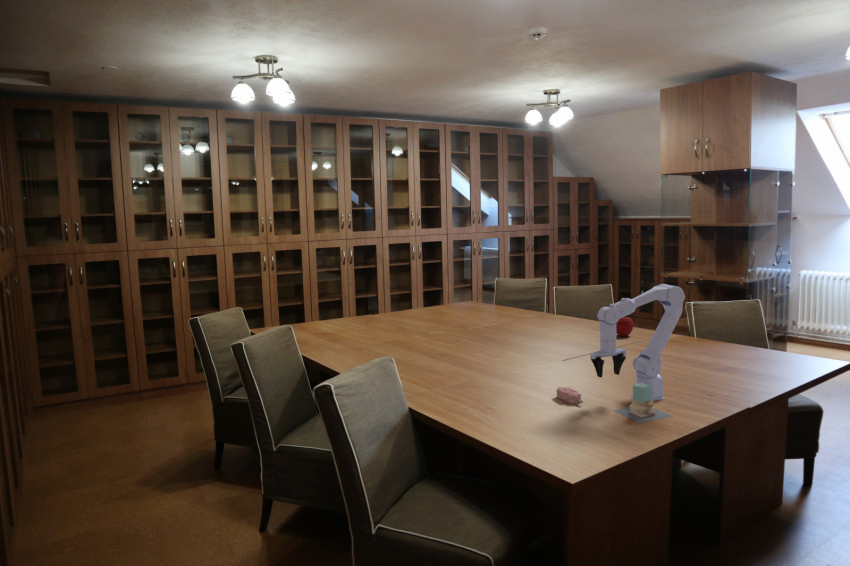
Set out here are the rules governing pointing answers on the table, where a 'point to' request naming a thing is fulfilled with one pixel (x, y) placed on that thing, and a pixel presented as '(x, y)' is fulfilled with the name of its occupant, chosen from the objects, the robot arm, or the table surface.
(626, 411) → the felt mat
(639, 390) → the teal block
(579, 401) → the ice cream bar
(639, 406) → the tower mid
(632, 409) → the tower base
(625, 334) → the apple
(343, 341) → the table surface
